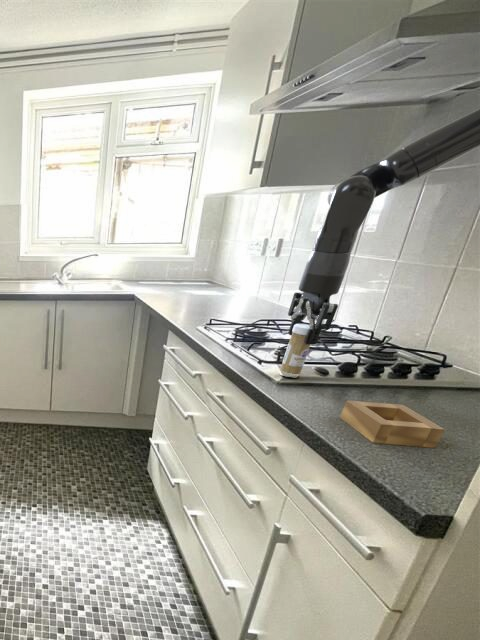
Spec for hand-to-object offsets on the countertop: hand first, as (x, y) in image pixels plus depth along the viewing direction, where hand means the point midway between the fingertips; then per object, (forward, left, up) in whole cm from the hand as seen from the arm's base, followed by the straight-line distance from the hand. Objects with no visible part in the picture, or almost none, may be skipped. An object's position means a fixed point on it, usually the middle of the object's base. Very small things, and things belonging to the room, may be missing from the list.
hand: (300, 339), depth 103 cm
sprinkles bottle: (0, 0, -10) cm, 10 cm away
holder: (-4, +28, -10) cm, 30 cm away
